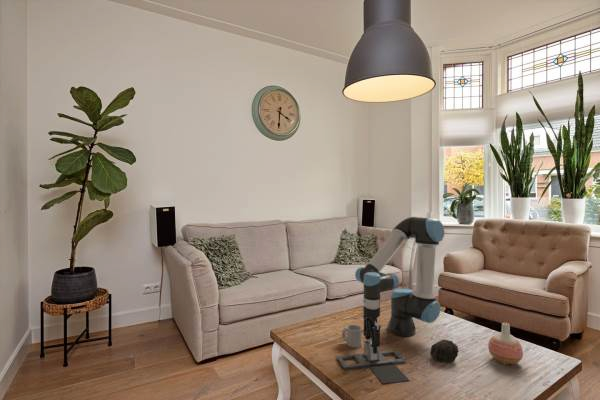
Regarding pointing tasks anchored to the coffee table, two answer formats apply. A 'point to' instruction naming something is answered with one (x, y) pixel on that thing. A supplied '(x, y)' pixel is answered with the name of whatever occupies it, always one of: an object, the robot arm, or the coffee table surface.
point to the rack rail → (364, 364)
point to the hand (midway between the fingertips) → (371, 356)
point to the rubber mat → (389, 374)
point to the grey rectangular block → (369, 351)
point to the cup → (352, 336)
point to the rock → (444, 351)
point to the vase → (505, 346)
